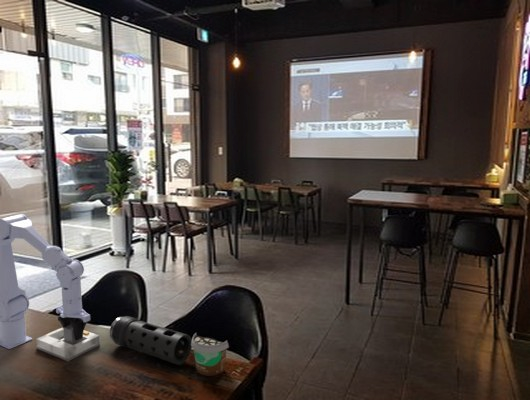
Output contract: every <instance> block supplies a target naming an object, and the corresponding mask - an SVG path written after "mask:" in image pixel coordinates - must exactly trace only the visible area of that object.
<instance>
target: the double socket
mask: <svg viewBox="0 0 530 400" xmlns="http://www.w3.org/2000/svg"><path fill="white" fill-rule="evenodd" d="M35 343H36V349H37V350H39V351H42V352H45V353H47V354H49V355H51V356H53V357H56V358H59V359H61V360H63V361H66V362H70V361H71V360H73V359H77V358H78V357H80V356H82V355H83V354H85V353H87V352H89V351H91V350H93V349H95V348H97V347H98V346H101V345H100V344H101V343H100V335H99V334H96V333H93V332H90V331H88V330H85V329H84V332H83V340H82V341H80V342H78V343H75V345H71V344H68V343H66V342H64V329H63V326H61V327H60V328H58V329H55V330H53V331H51V332H49V333H47V334H44V335H42V336H39V337H37V338H36V339H35Z"/></svg>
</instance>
